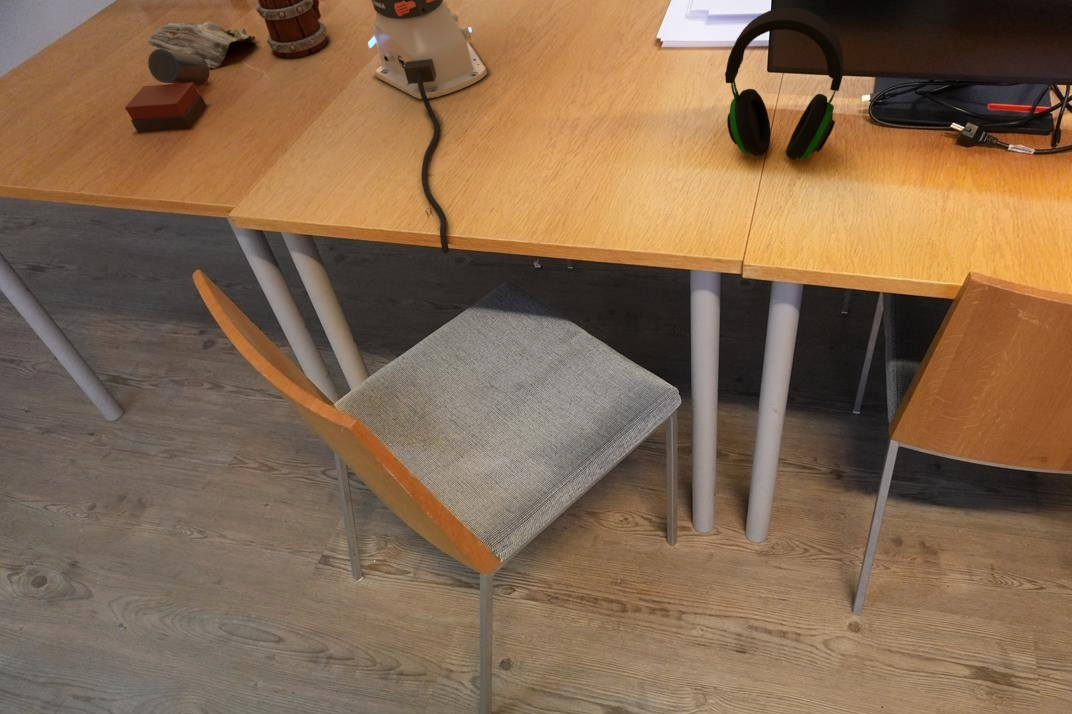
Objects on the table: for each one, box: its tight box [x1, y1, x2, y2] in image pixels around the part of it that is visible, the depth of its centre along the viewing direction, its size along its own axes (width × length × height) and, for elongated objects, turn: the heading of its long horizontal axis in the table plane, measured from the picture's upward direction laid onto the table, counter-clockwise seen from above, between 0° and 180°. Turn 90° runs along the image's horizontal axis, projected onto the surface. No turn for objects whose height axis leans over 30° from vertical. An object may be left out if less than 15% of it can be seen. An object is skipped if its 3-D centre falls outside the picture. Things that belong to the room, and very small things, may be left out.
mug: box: [255, 0, 328, 59], centre depth 152 cm, size 12×14×15 cm
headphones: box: [724, 6, 845, 161], centre depth 107 cm, size 9×16×20 cm, turn 71°
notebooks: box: [124, 82, 208, 133], centre depth 138 cm, size 8×10×5 cm
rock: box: [147, 20, 256, 69], centre depth 156 cm, size 23×7×15 cm
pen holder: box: [147, 49, 211, 87], centre depth 142 cm, size 6×6×10 cm
